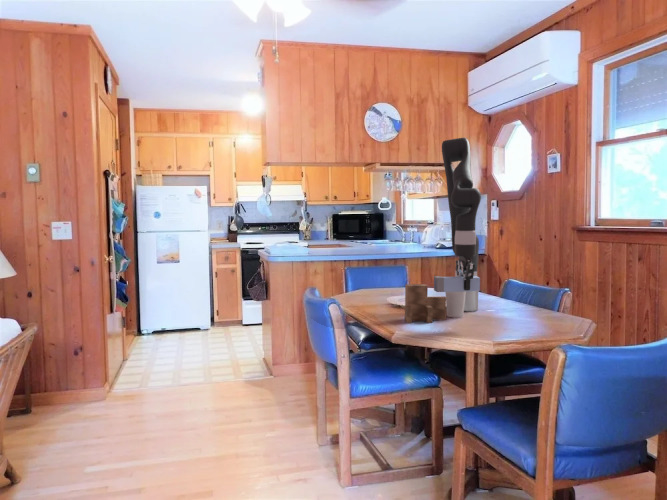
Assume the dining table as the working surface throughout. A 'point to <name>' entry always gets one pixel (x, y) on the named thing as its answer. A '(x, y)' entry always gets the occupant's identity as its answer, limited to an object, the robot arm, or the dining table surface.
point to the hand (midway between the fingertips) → (464, 288)
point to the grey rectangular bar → (455, 284)
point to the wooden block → (423, 304)
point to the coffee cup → (455, 304)
